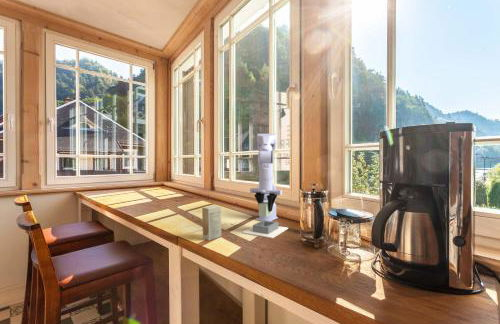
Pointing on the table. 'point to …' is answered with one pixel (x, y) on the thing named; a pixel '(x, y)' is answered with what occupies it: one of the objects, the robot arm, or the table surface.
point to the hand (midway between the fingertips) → (265, 210)
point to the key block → (264, 209)
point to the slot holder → (266, 229)
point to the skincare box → (211, 222)
